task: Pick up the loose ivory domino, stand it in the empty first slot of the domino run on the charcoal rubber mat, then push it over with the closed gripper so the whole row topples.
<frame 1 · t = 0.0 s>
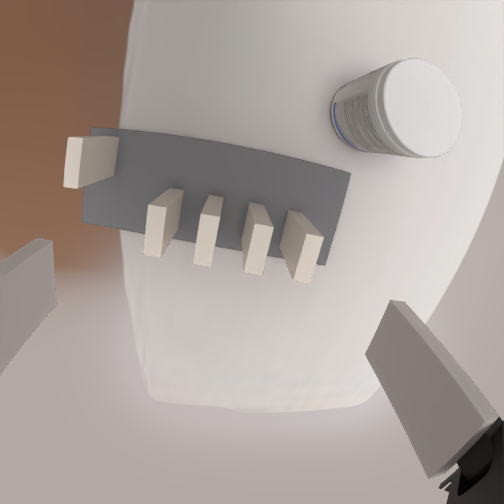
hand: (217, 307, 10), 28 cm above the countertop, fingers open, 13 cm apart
domino 2: (213, 215, 37), resting on mat
domino 4: (290, 229, 39), resting on mat
supplement tub: (362, 115, 34), on the countertop
domino 3: (252, 222, 38), resting on mat
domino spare: (110, 155, 34), resting on mat
mat: (208, 193, 37), on the countertop
domino 1: (174, 208, 37), resting on mat
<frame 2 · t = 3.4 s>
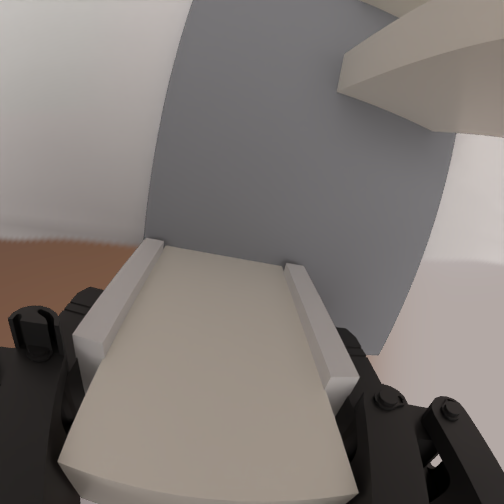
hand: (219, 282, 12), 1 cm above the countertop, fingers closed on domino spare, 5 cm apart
domino 2: (404, 6, 9), resting on mat
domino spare: (220, 275, 13), resting on mat, touching gripper
mat: (350, 2, 9), on the countertop
domino 1: (392, 93, 10), resting on mat
when the fingers open (2 cm above the countertop, at t = 7.9 s): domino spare stays where it is, resting on mat.
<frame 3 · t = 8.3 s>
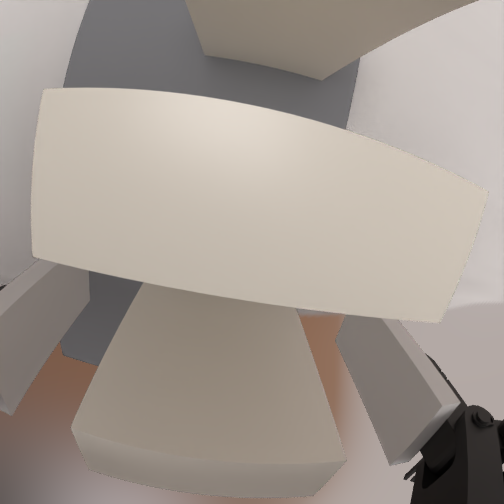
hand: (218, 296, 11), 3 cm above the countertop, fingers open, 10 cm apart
domino 2: (268, 47, 10), resting on mat
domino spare: (220, 267, 14), resting on mat
mat: (204, 59, 11), on the countertop
domino 1: (243, 157, 12), resting on mat
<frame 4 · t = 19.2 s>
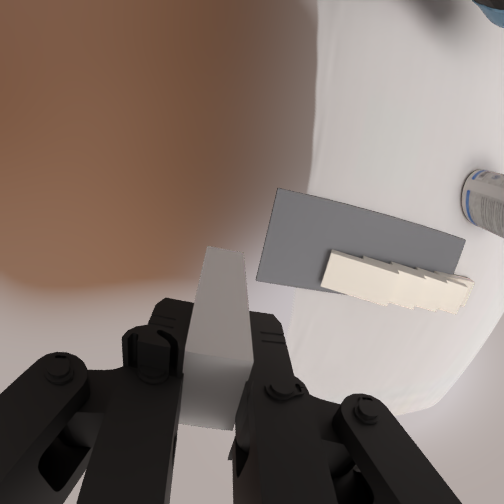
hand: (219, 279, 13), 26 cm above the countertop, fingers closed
domino 2: (386, 278, 42), point 1 cm above the countertop, tilted 69°, touching domino 1, domino 3, mat
domino 4: (431, 286, 43), point 1 cm above the countertop, tilted 90°, touching domino 3, mat
supplement tub: (476, 195, 39), on the countertop
domino 3: (411, 283, 42), point 1 cm above the countertop, tilted 69°, touching domino 2, domino 4
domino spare: (326, 267, 41), point 1 cm above the countertop, tilted 69°, touching domino 1, mat
mat: (377, 257, 42), on the countertop
domino 1: (358, 273, 41), point 1 cm above the countertop, tilted 69°, touching domino 2, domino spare, mat
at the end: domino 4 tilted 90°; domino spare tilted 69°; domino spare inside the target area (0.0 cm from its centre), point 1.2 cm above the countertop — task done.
